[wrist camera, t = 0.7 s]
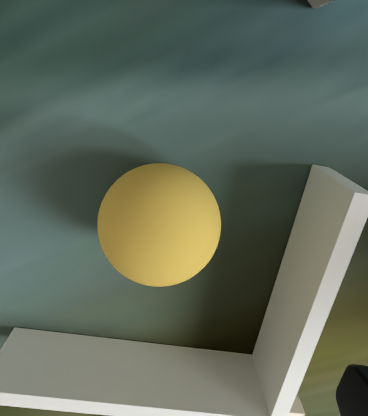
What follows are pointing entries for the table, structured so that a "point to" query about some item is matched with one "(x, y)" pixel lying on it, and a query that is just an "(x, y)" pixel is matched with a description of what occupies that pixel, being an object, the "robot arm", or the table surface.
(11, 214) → the table surface
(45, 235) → the table surface
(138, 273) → the ball
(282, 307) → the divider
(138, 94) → the table surface
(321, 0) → the brown upright rectangular box
